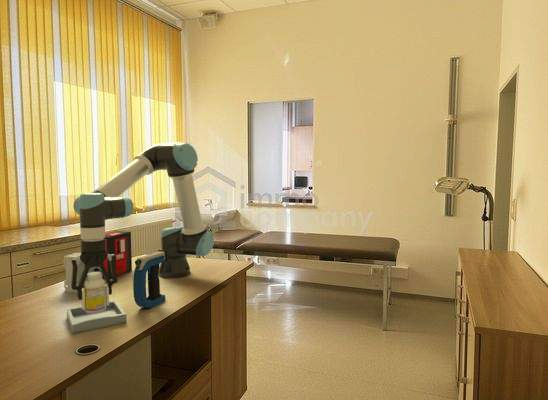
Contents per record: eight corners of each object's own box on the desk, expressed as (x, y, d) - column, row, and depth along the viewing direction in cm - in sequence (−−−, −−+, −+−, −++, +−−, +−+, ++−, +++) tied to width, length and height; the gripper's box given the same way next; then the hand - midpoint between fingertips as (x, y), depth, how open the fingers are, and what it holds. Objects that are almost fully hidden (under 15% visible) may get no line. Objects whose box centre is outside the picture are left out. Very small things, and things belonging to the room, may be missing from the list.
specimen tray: (116, 308, 139) (115, 300, 139) (126, 322, 126) (126, 313, 125) (66, 317, 130) (66, 309, 130) (72, 334, 117) (72, 325, 116)
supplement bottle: (89, 307, 130) (88, 270, 129) (109, 306, 131) (108, 270, 130) (81, 314, 124) (79, 276, 123) (102, 314, 124) (100, 276, 123)
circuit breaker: (94, 293, 155) (93, 258, 154) (64, 291, 158) (63, 256, 157) (106, 288, 162) (104, 254, 161) (77, 286, 165) (75, 252, 164)
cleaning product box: (109, 279, 175) (108, 237, 173) (93, 278, 177) (92, 236, 175) (131, 270, 190) (130, 231, 189) (117, 269, 193) (115, 231, 191)
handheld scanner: (170, 298, 149) (168, 249, 148) (143, 313, 134) (141, 258, 132) (160, 297, 150) (158, 249, 149) (133, 311, 135) (130, 258, 134)
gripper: (121, 234, 134) (123, 297, 136) (58, 240, 123) (61, 308, 125) (126, 238, 128) (128, 303, 130) (60, 244, 117) (63, 316, 119)
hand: (95, 306), depth 127 cm, fingers closed on supplement bottle, 7 cm apart
